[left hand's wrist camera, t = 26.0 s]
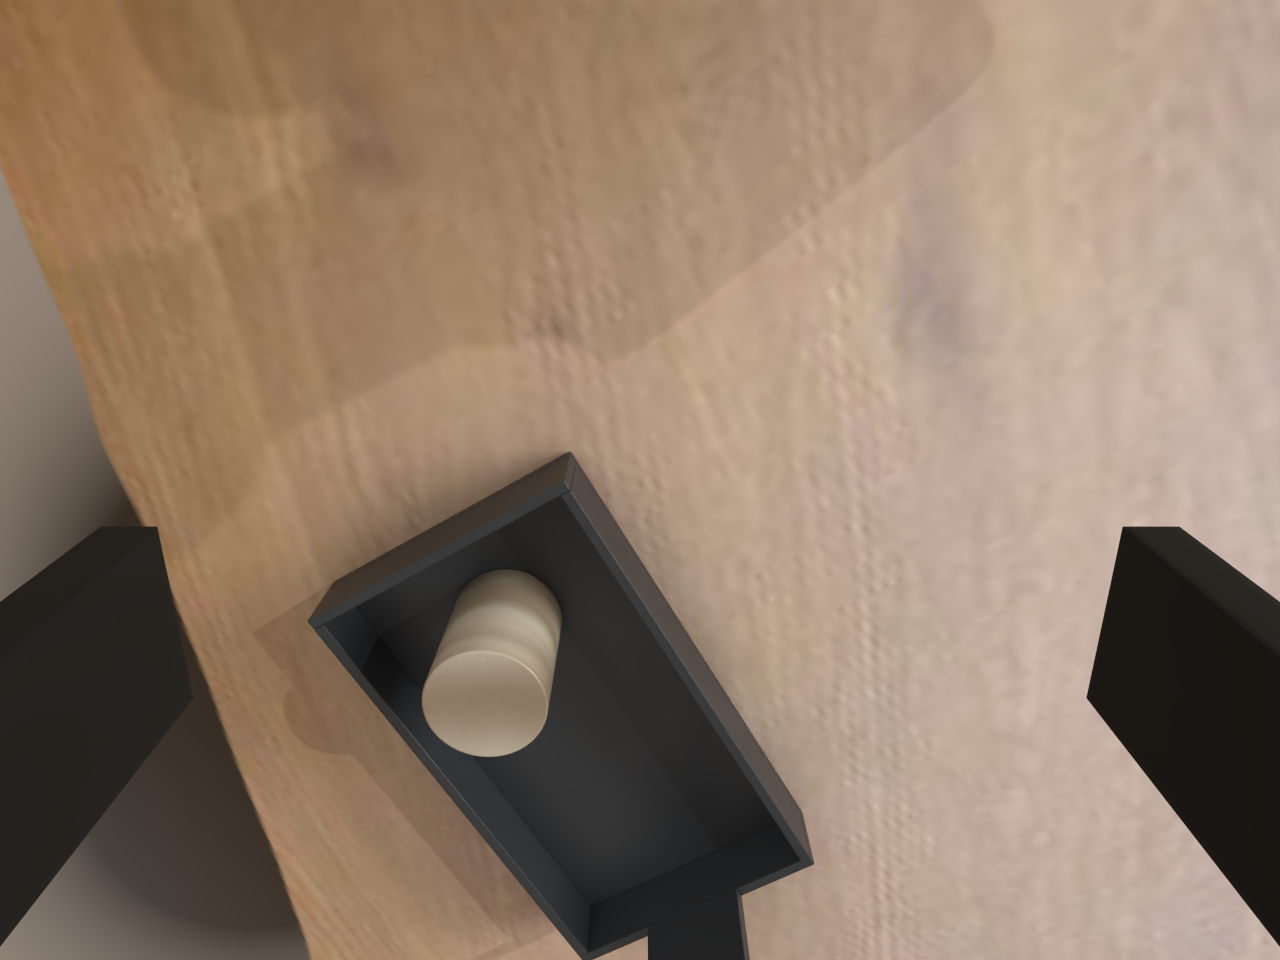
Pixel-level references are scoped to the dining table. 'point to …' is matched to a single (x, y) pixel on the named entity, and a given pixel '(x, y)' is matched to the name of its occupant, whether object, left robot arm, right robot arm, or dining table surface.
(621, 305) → the dining table surface
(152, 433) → the dining table surface
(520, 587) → the cylinder
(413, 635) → the tray
